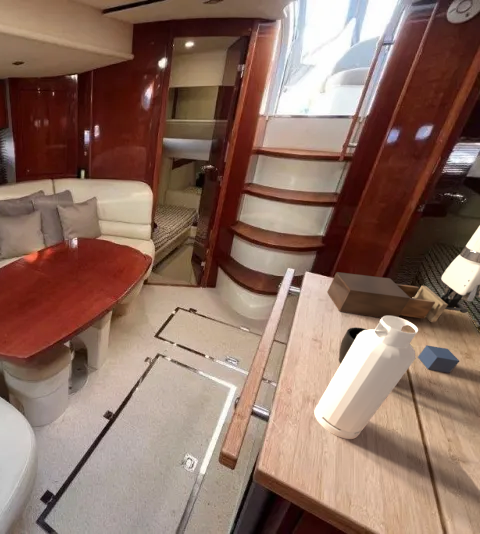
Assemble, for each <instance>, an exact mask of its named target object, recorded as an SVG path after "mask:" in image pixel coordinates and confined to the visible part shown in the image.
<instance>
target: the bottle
mask: <svg viewBox="0 0 480 534" xmlns="http://www.w3.org/2000/svg"><path fill="white" fill-rule="evenodd" d="M407 326H410V327H411V328H412V329H413V330H414V331H415V332H406V331H402V329H403V327H407ZM418 332H419V328H418V327H417V325H415V324H414V323H412V322H411V321H410V320H407V319H404V318H402V317H399V316H398V317H395V316H383V317H382V318H380V320H379V322H378V324H377V325H376V326H375V328H371V329H370V328H369V329H367V330H364V331H362V332H360V333H359V334H358V335H357V337H356V339H355V340H354V342H353V344H352V346H351V347H350V349H349V351H348V352H347V354H346V356H345V358H344V359H343V361H342V363H341V364H340V365H339V366H338V368H337V370H336V372H335V374H334V375H333V377H332V378H331V380H330V382H329V384H328V386H327V387H326V389H325V391H324V392H323V394H322V396H321V397H320V399H319V401H318V403H317V404H316V406H315V408H314V411H313V413H314V417H315V419H316V421H317V422H318V424H320V426H321V427H323V429H324V430H326V431H327V432H329V433H330V434H332V435H334V436H335V437H339V438H342V439H345V440H352V439H356V438H358V437H359V436H360V434H361V433H362V432H363V429H365V427H366V426H367V425H368V424H369V422H370V421H371V419H372V418H373V417H374V416H375V414H376V413H377V412H378V410H379V408H381V406H382V405H383V403H384V402H385V401H386V399H387V398H388V397H389V395H390V394H391V392H392V391H393V390H394V388H395V387H396V386H397V384H398V383H399V382H400V380H401V379H402V378H403V376H404V375H405V374H406V372H407V371H408V370H409V368H410V367H411V366H412V364H413V363H414V362H415V360H416V350H415V349H414V347H413V346H412V345H411V343H412V341H413V339H414V338H415V336H416V335H417V334H418Z"/></svg>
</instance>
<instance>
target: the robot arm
mask: <svg viewBox="0 0 480 534" xmlns="http://www.w3.org/2000/svg"><path fill="white" fill-rule="evenodd" d="M440 280H441V284H442V285H443V287H444V290H443V292H442V296H441V297H442V298H441V299H442V300H443V301H444V302H445V303H447V304H448V305H447V307H453V308H456V307H455V306H456V305H457V303H458V302H459V303H460V301H464V302H470V303H471V302H473V300H474V298H475V297H476V298H480V225H479V226H478V227H477V229H475V232H474V233H473V234H472V236H471V238H470V239H469V240H468V242H467V243H466V245H464V248H463V249H462V251H461V252H460V253H459V254H458V255H457V256H456V257H455V258H454V259H453V260H452V262H451V263H450V264H449V265H448V266H447V268H446V269H445V270H444V272H443V274H442V275H441V277H440ZM447 310H449V309H447ZM449 311H450V310H449Z"/></svg>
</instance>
